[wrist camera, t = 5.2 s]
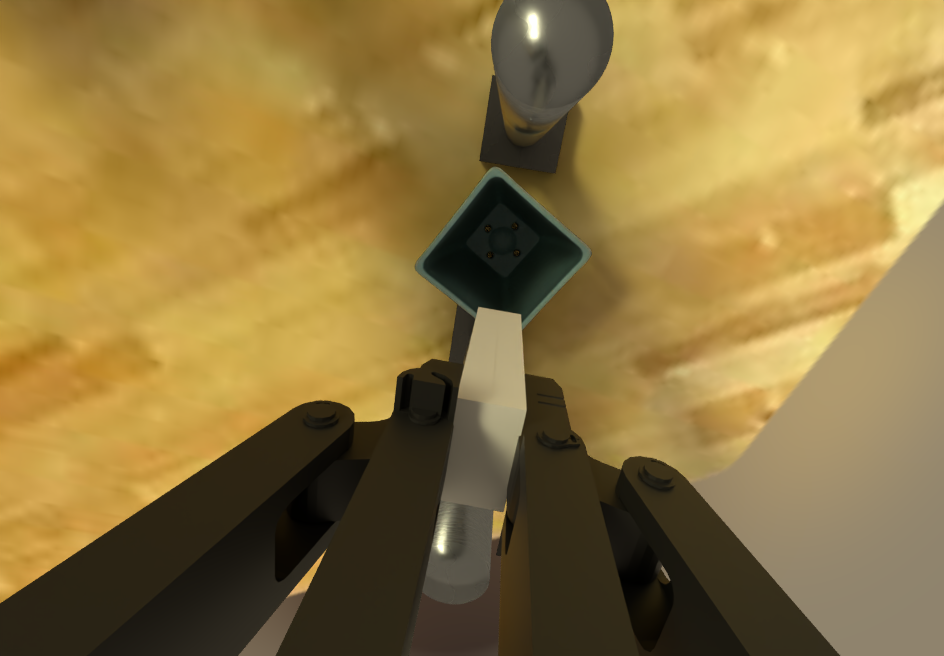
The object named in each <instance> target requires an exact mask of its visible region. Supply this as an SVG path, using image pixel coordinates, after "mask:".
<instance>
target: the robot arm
mask: <svg viewBox="0 0 944 656" xmlns="http://www.w3.org/2000/svg"><path fill="white" fill-rule="evenodd" d="M506 499H507V510H506V514H505V519H504V523H503V527H502V532H501V536H500V540H499V545H498V549H497V553H496V555H498V556H501V581H500V613H499V645H498V656H840V655H839V654H838V653H837V652H836V651H835V649H834V648H833V647H832V646H831V645H830V644H829V642H828V641H827V640H826V639H825V638H824V637H823V636H822V634H821V633H820V632H819V631H818V630H817V629H816V627H815V626H814V625H813V624H812V623H811V622H810V621H809V620H808V619H807V617H806V616H805V615H804V614H803V613H802V611H801V610H800V609H799V608H798V607H797V606H796V605H795V603H794V602H793V601H792V600H791V599H790V598H789V597H788V595H787V594H786V593H785V592H784V591H783V590H782V588H781V587H780V586H779V585H778V584H777V583H776V582H775V580H774V579H773V578H772V577H771V576H770V575H769V573H768V572H767V571H766V570H765V569H764V568H763V567H762V565H761V564H760V563H759V562H758V561H757V560H756V558H755V557H754V556H753V555H752V554H751V553H750V552H749V550H748V549H747V548H746V547H745V546H744V545H743V544H742V542H741V541H740V540H739V539H738V538H737V537H736V535H735V534H734V533H733V532H732V531H731V530H730V529H729V527H728V526H727V525H726V524H725V523H724V522H723V521H722V519H721V518H720V517H719V516H718V515H717V514H716V513H715V511H714V510H713V509H712V508H711V507H710V506H709V504H708V503H707V502H706V501H705V500H704V499H703V498H702V497H701V495H700V494H699V493H698V492H697V491H696V489H695V488H694V487H693V486H692V485H691V484H690V483H689V481H688V480H687V479H686V478H685V477H684V476H683V475H682V474H680V473H679V472H678V471H677V470H676V469H674V468H672V467H671V466H669V465H667V464H666V463H664V462H662V461H660V460H659V461H658V460H657V459H653V458H647V457H641V456H638V457H630V458H628V459H627V460H625V461H624V463H623V466H622V469H621V470H620V469H617V468H614V467H612V466H609V465H607V464H604V463H602V462H599V461H597V460H595V459H593V458H592V457H590V456H588V455H587V451H586V447H585V444H584V442H583V441H582V439H581V438H580V437H579V436H578V435H577V434H576V433H575V432H573V431H572V430H571V427H570V423H569V418H568V414H567V409H566V405H565V401H564V396H563V392H562V388H561V387H560V386H559V385H558V384H557V383H556V382H555V381H554V380H553V379H550V378H544V377H539V376H533V375H528V374H524V357H523V341H522V324H521V314H516V313H510V312H504V311H499V310H493V309H487V308H482V307H478V311H477V315H476V319H475V323H474V327H473V332H472V336H471V340H470V344H469V348H468V352H467V356H466V361H465V365H464V364H459V363H453V362H448V361H442V360H437V359H431V360H429V361H428V362H426V363H424V364H423V365H422V366H421V368H415V369H409V370H406V371H404V372H402V373H401V374H400V375H399V376H398V377H397V385H396V394H395V403H394V411H393V413H392V415H391V417H390V418H388V419H385V420H381V421H374V422H355V419H354V413H353V412H352V411H351V409H350V408H349V407H347V406H345V405H343V404H341V403H336V402H331V401H323V400H322V401H313V402H308V403H304V404H302V405H299V406H297V407H295V408H293V409H292V410H290V411H289V412H287V413H286V414H284V415H283V416H281V417H280V418H278V419H277V420H275V421H274V422H272V423H271V424H269V425H268V426H266V427H265V428H263V429H262V430H260V431H259V432H257V433H256V434H254V435H253V436H251V437H250V438H248V439H247V440H245V441H244V442H242V443H241V444H239V445H238V446H236V447H235V448H233V449H232V450H230V451H229V452H227V453H226V454H224V455H223V456H221V457H220V458H218V459H217V460H215V461H214V462H212V463H211V464H209V465H208V466H206V467H205V468H203V469H202V470H200V471H199V472H197V473H196V474H194V475H193V476H191V477H190V478H188V479H187V480H185V481H184V482H182V483H181V484H179V485H178V486H176V487H175V488H173V489H172V490H170V491H168V492H167V493H165V494H164V495H162V496H161V497H159V498H158V499H156V500H155V501H153V502H152V503H150V504H149V505H147V506H146V507H144V508H143V509H141V510H140V511H138V512H137V513H135V514H134V515H132V516H131V517H129V518H128V519H126V520H125V521H123V522H122V523H120V524H119V525H117V526H116V527H114V528H113V529H111V530H110V531H108V532H107V533H105V534H104V535H102V536H101V537H99V538H98V539H96V540H95V541H93V542H92V543H90V544H89V545H87V546H86V547H84V548H83V549H81V550H80V551H78V552H77V553H75V554H74V555H72V556H71V557H69V558H68V559H66V560H65V561H63V562H62V563H60V564H59V565H57V566H56V567H54V568H53V569H51V570H50V571H48V572H47V573H45V574H44V575H42V576H41V577H39V578H38V579H36V580H35V581H33V582H32V583H30V584H29V585H27V586H26V587H24V588H23V589H21V590H20V591H18V592H17V593H15V594H14V595H12V596H11V597H9V598H8V599H6V600H5V601H3V602H2V603H0V656H238V655H239V654H240V653H241V651H242V650H243V649H244V648H245V647H246V645H247V644H248V643H249V642H250V641H251V639H252V638H253V637H254V636H255V635H256V633H257V632H258V631H259V630H260V628H261V627H262V626H263V625H264V624H265V623H266V621H267V620H268V619H269V617H271V615H272V614H273V613H274V612H275V611H276V609H277V608H278V607H279V606H280V604H281V603H282V602H283V601H284V599H285V598H286V597H287V596H288V595H289V594H290V592H291V591H292V590H293V589H294V588H295V586H296V585H297V584H298V583H299V582H300V580H301V579H302V578H303V577H304V576H305V574H306V573H307V572H308V571H309V570H310V568H311V567H312V566H313V565H314V564H315V562H316V561H317V560H318V559H319V557H320V556H321V555H322V554H323V553H324V551H325V550H326V549H327V550H326V552H325V554H324V556H323V558H322V561H321V563H320V565H319V567H318V569H317V571H316V573H315V575H314V577H313V579H312V581H311V583H310V586H309V588H308V590H307V592H306V594H305V596H304V598H303V600H302V602H301V604H300V606H299V608H298V610H297V613H296V615H295V617H294V619H293V621H292V623H291V625H290V627H289V629H288V631H287V633H286V635H285V638H284V640H283V642H282V644H281V646H280V648H279V650H278V652H277V654H276V656H409V653H410V648H411V643H412V638H413V634H414V629H415V624H416V619H417V614H418V610H419V605H420V600H421V595H422V591H423V586H424V581H425V576H426V571H427V567H428V562H429V557H430V552H431V547H432V543H433V538H434V533H435V528H436V523H437V519H438V513H439V507H440V501H446V502H452V503H457V504H462V505H468V506H473V507H478V508H484V509H489V510H494V511H500V512H504V507H505V503H506ZM662 565H663V567H664V568H665V570H666V572H667V573H668V575H669V578H670V580H671V581H669V580H668V579H667V578H666V576H665V575H664V573H663V572H662V570H661V567H662Z"/></svg>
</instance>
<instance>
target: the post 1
mask: <svg viewBox="0 0 944 656" xmlns="http://www.w3.org/2000/svg"><path fill="white" fill-rule="evenodd" d="M474 323H475V318H474V317H473V316H472V315H470V314H469V313H468V312H467V311H465V310H464V309H463V308H462V307H461V306H459V305H457V311H456V318H455V324H454V331H453V337H452V344H451V350H450V357H449V362H453V363H459V364H464V365H465V361H466V356H467V352H468V348H469V344H470V340H471V336H472V332H473V327H474ZM492 525H493V510H489V509H484V508H478V507H473V506H468V505H462V504H457V503H452V502H446V501H440V507H439V513H438V519H437V523H436V528H435V533H434V538H433V543H432V547H431V552H430V557H429V562H428V567H427V571H426V576H425V581H424V586H423V591H422V592H423V593H424V594H426V595H427V596H428V597H430V598H432V599H434V600H436V601H439V602H443V603H449V604H463V603H467V602H470V601H473V600H475V599H477V598H478V597H480V596H481V595H482V594H483V593H484V592H485V590H486V589H487V587H488V584H489V580H490V562H491V543H492Z"/></svg>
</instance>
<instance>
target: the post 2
mask: <svg viewBox="0 0 944 656" xmlns="http://www.w3.org/2000/svg"><path fill="white" fill-rule="evenodd" d="M613 35H614V32H613V21H612V16H611V12H610V9H609V6H608V4H607V2H606V0H504V1H503V3H502V5H501V6H500V8H499V11H498V13H497V15H496V18H495V21H494V25H493V30H492V38H491V51H492V59H493V64H494V70H495V75H492V82H491V89H490V95H489V102H488V108H487V115H486V121H485V128H484V134H483V141H482V147H481V154H480V161H483V162H489V163H495V164H501V165H507V166H513V167H519V168H525V169H531V170H537V171H543V172H549V173H555V172H556V168H557V163H558V158H559V153H560V148H561V144H562V139H563V134H564V129H565V125H566V120H567V115H568V111H569V110H570V109H571V108H572V107H573V106H574V105H576V104H577V103H578V102H579V101H580V100H581V99H582V98H583V97H584V96H585V95H586V94H587V93H588V92H589V91H590V90H591V89H592V88H593V87H594V85H595V84H596V83H597V82H598V80H599V79H600V77H601V76H602V74H603V72H604V70H605V69H606V66H607V64H608V61H609V58H610V55H611V52H612V46H613Z"/></svg>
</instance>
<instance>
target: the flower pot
mask: <svg viewBox="0 0 944 656" xmlns="http://www.w3.org/2000/svg"><path fill="white" fill-rule="evenodd" d="M513 223H516V224H517V225H518V227H517V229H513V228H512V224H513ZM487 225H489V226H491V230H490V231H489V232H487V231H486V230H485V226H487ZM515 250H518V251H519V255H518V256H515V255H514V251H515ZM489 252H492V253H493V257H492V258H489V257H488V256H487V254H488V253H489ZM591 254H592V252H591V249H590V248H589V247H588V246H587V245H586V244H585V243H584V242H583V241H581V240H580V239H579V238H578V237H577V236H576V235H575V234H573V233H572V232H571V231H570V230H569V229H568V228H566V227H565V226H564V225H563V224H562V223H561V222H560V221H558V220H557V219H556V218H555V217H554V216H553V215H552V214H550V213H549V212H548V211H547V210H546V209H545V208H544V207H543V206H542V205H541V204H539V203H538V202H537V201H536V200H535V199H534V198H533V197H532V196H530V195H529V194H528V193H527V192H526V191H525V190H524V189H523V188H522V187H521V186H519V185H518V184H517V183H516V182H515V181H514V180H513V179H512V178H511V177H510V176H509V175H508V174H507V173H505V172H504V171H503V170H502V169H500V168H499V167H493V168H491V169H490V170H489V171H488V172H487V173H486V174H485V175H484V177H483V178H482V179H481V181H480V182H479V183H478V185H477V186H476V187H475V189H474V190H473V191H472V192H471V194H470V195H469V196H468V198H467V199H466V200H465V202H464V203H463V204H462V205H461V207H460V208H459V209H458V211H457V212H456V213H455V214H454V216H453V217H452V218H451V220H450V221H449V222H448V223H447V224H446V226H445V227H444V228H443V229H442V231H441V232H440V233H439V234H438V236H437V237H436V238H435V239H434V241H433V242H432V243H431V244H430V246H429V247H428V248H427V249H426V251H425V252H424V253H423V254H422V255H421V257H420V258H419V259H418V260H417V262H416V264H415V270H416V271H417V272H418V273H419V274H420V275H421V276H422V277H424V278H425V279H426V280H428V281H429V282H430V283H431V284H433V285H434V286H435V287H436V288H438V289H439V290H440V291H442V292H443V293H444V294H446V295H447V296H448V297H449V298H451V299H452V300H453V301H454V302H456V303H457V304H458V305H459V306H461V307H462V308H463V309H464V310H465V311H467V312H468V313H469V314H470V315H472V316H473V317H474V318H475V319H476V315H477V311H478V307H482V308H487V309H493V310H499V311H504V312H510V313H516V314H521V324H522V330H523V329H524V328H525V327H526V326H527V324H528V323H529V322H530V321H531V320H532V319H533V318H534V317H535V316H536V315H537V314H538V312H539V311H540V310H541V309H542V308H543V307H544V306H545V305H546V304H547V303H548V302H549V301H550V299H551V298H552V297H553V296H554V295H555V294H556V293H557V292H558V291H559V290H560V289H561V288H562V287H563V286H564V285H565V284H566V282H568V281H569V279H570V278H571V277H572V276H573V275H574V274H575V273H576V272H577V271H578V270H579V269H580V268H581V267H582V266H583V265H584V264H585V263H586V262H587V261H588V260H589V258H590V257H591Z"/></svg>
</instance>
